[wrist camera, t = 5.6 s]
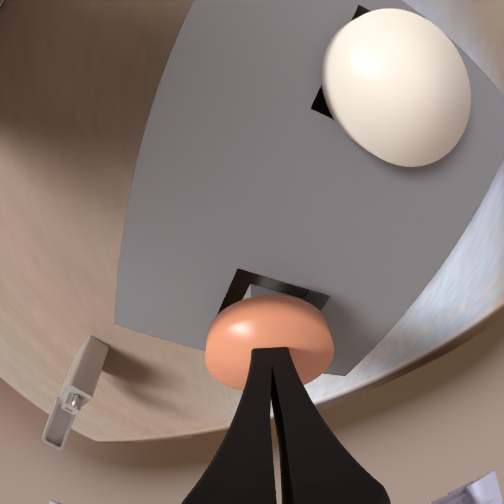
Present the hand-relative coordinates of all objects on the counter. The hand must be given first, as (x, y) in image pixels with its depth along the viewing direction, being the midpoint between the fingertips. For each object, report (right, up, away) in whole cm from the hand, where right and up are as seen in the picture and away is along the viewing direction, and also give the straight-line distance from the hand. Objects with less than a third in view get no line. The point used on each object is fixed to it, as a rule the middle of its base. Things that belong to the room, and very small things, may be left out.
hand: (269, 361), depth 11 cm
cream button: (+4, +11, -2) cm, 12 cm away
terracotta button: (0, +2, +2) cm, 3 cm away
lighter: (-14, -4, +8) cm, 16 cm away
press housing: (+2, +7, +1) cm, 7 cm away
